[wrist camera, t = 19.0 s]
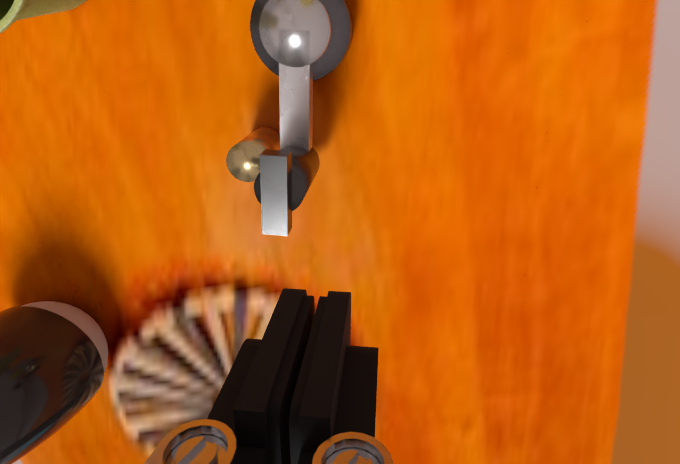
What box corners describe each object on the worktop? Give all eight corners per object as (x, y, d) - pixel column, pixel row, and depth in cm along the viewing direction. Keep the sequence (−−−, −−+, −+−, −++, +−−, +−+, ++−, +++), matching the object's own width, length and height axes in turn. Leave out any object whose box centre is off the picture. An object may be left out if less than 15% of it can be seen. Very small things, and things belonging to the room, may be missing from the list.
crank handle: (264, -11, 26) (224, -22, 20) (333, -8, 26) (315, -19, 20) (269, 191, 31) (238, 232, 25) (327, 195, 31) (311, 238, 25)
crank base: (236, -25, 28) (207, -35, 24) (353, -25, 27) (345, -36, 23) (250, 159, 33) (228, 181, 28) (350, 163, 32) (343, 185, 28)
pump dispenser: (118, 287, 39) (-33, 431, 25) (133, 382, 43) (11, 549, 29) (5, 274, 39) (-203, 407, 26) (31, 368, 44) (-135, 526, 30)
